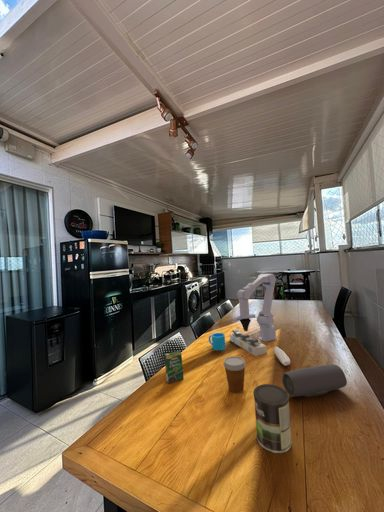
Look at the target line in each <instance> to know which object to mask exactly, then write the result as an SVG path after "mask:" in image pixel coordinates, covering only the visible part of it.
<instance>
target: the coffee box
mask: <svg viewBox="0 0 384 512" xmlns="http://www.w3.org/2000/svg"><path fill="white" fill-rule="evenodd" d="M164 366H165V378H166V382H167V384H168V385H169V384H171V383H175V382H178V381H181V380H184V369H183V357H182V351H181V350H175V351H172V352H169V353H164Z"/></svg>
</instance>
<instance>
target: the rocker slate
mask: <svg viewBox="0 0 384 512" xmlns="http://www.w3.org/2000/svg"><path fill="white" fill-rule="evenodd" d="M248 342H250V343H257V342H260V341H259V339H257V338H252V339H249V340H248Z"/></svg>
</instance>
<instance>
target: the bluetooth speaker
mask: <svg viewBox="0 0 384 512" xmlns="http://www.w3.org/2000/svg"><path fill="white" fill-rule="evenodd" d="M281 381H282V385H283V389H284V390H285V391H286V392H287V393H288V395H289V397H293V398H294V397H305V398H310V397H318V396H322V395H326V394H328V392H331V391H335V390H338V389H342V388H344V387H346V386H347V384H348V383H347V382H348V381H347V377H346V374H345V372H344V370H343V369H342V368H341V366H339V365H337V364H324V365H317V366H315V365H314V366H309V367H305V368H299V369H294V370H290V371H285V372H284V373H282V379H281Z"/></svg>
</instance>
